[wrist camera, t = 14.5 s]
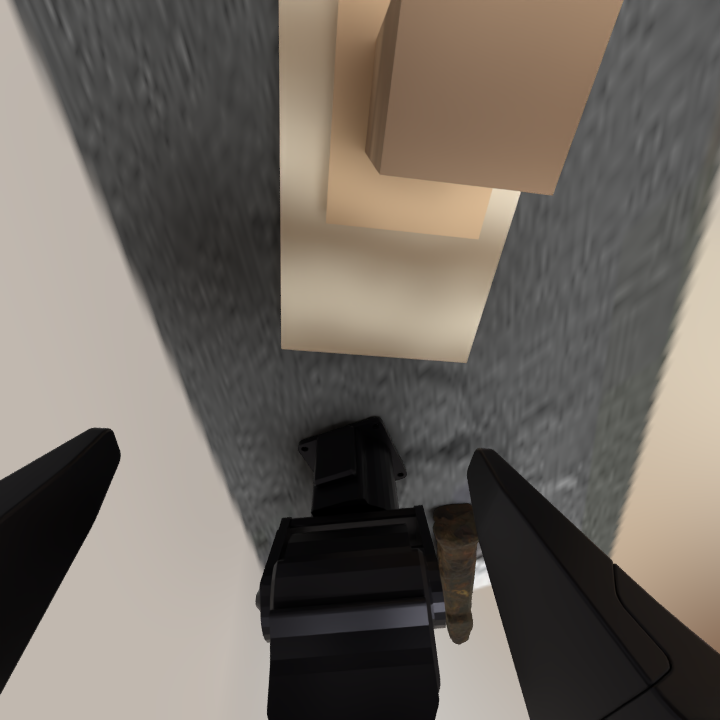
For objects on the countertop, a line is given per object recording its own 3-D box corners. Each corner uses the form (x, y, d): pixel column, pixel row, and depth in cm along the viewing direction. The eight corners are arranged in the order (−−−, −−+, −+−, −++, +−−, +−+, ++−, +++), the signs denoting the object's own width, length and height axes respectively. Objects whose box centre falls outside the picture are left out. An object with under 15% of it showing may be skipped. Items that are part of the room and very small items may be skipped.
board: (453, 335, 23) (466, 363, 20) (288, 322, 22) (281, 349, 19) (675, -456, 10) (791, -659, 7) (293, -568, 9) (272, -844, 6)
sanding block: (464, 227, 16) (559, 310, 9) (328, 212, 16) (313, 288, 8) (529, -29, 12) (809, -257, 5) (344, -61, 11) (342, -374, 4)
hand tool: (428, 501, 32) (439, 554, 28) (475, 498, 32) (492, 550, 28) (425, 603, 42) (433, 652, 38) (460, 601, 42) (471, 650, 38)
